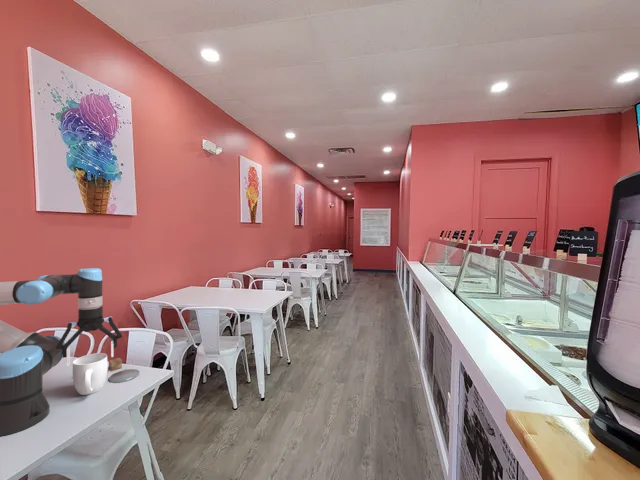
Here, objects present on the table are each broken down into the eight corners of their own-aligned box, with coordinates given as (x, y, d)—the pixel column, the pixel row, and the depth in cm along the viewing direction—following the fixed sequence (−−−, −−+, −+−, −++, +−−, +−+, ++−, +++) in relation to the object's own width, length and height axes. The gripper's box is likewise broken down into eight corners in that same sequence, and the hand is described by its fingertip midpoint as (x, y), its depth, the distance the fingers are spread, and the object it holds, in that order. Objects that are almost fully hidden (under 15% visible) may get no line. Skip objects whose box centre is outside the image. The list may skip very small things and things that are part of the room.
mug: (106, 397, 109) (106, 364, 109) (68, 407, 103) (68, 371, 103) (108, 381, 121) (108, 350, 121) (75, 388, 115) (75, 356, 115)
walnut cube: (111, 371, 130) (111, 362, 130) (108, 368, 132) (108, 360, 132) (121, 368, 133) (121, 359, 133) (118, 365, 136) (118, 357, 136)
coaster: (109, 385, 118) (109, 384, 118) (108, 375, 127) (108, 373, 127) (140, 377, 124) (140, 376, 124) (138, 368, 133) (138, 367, 133)
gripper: (45, 314, 102) (46, 373, 102) (129, 304, 117) (129, 355, 117) (49, 310, 108) (49, 365, 108) (127, 301, 123) (128, 349, 123)
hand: (91, 360), depth 113 cm, fingers open, 13 cm apart
